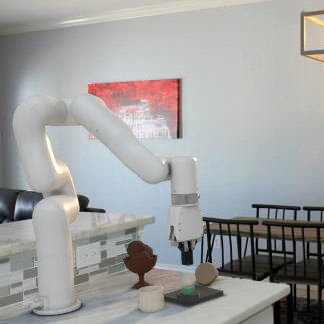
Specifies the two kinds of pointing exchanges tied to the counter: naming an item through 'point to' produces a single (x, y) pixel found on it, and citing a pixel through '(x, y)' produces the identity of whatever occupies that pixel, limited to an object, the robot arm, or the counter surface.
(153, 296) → the cream cup
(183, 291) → the button
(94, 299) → the counter surface
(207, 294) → the scale
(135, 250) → the ice cream bowl
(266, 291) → the counter surface
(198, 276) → the mug
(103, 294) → the counter surface
